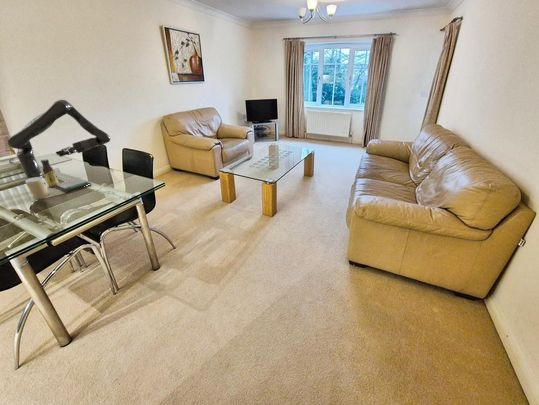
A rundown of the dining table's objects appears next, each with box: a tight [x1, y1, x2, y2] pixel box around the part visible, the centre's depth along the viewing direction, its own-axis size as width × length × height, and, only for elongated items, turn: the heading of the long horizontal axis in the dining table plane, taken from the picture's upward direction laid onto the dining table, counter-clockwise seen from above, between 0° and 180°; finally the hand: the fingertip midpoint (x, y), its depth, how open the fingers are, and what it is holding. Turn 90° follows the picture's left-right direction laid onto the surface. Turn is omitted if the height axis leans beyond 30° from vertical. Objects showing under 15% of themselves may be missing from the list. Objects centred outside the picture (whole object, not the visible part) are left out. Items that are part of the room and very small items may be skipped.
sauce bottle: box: [40, 159, 60, 189], centre depth 178 cm, size 7×6×20 cm
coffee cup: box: [24, 176, 50, 199], centre depth 166 cm, size 9×9×12 cm
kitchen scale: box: [54, 177, 92, 194], centre depth 181 cm, size 16×16×3 cm
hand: (57, 154), depth 179 cm, fingers open, 8 cm apart
